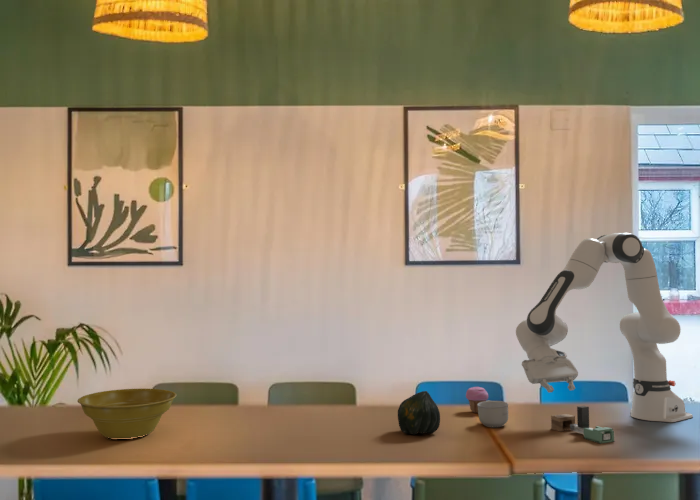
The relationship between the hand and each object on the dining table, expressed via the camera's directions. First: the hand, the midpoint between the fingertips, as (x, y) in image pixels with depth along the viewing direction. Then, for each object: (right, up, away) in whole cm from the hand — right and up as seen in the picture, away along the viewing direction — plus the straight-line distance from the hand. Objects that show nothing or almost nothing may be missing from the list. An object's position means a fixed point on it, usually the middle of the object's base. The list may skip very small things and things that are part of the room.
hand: (562, 390), depth 222 cm
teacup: (-23, -14, +7) cm, 28 cm away
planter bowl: (-151, -15, -4) cm, 151 cm away
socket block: (0, -13, -1) cm, 13 cm away
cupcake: (-24, -15, +28) cm, 40 cm away
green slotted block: (+7, -13, -16) cm, 21 cm away
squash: (-51, -14, -4) cm, 53 cm away
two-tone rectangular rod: (+5, -12, -12) cm, 18 cm away
